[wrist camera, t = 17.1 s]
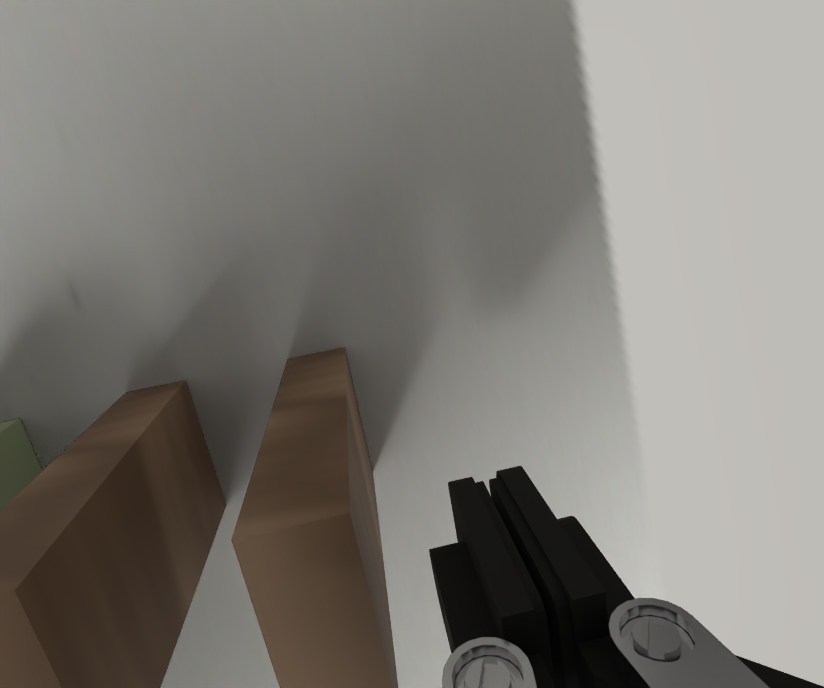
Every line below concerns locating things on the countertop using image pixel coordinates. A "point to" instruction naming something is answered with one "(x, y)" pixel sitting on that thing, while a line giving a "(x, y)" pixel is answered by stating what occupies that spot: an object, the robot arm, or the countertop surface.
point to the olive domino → (15, 461)
